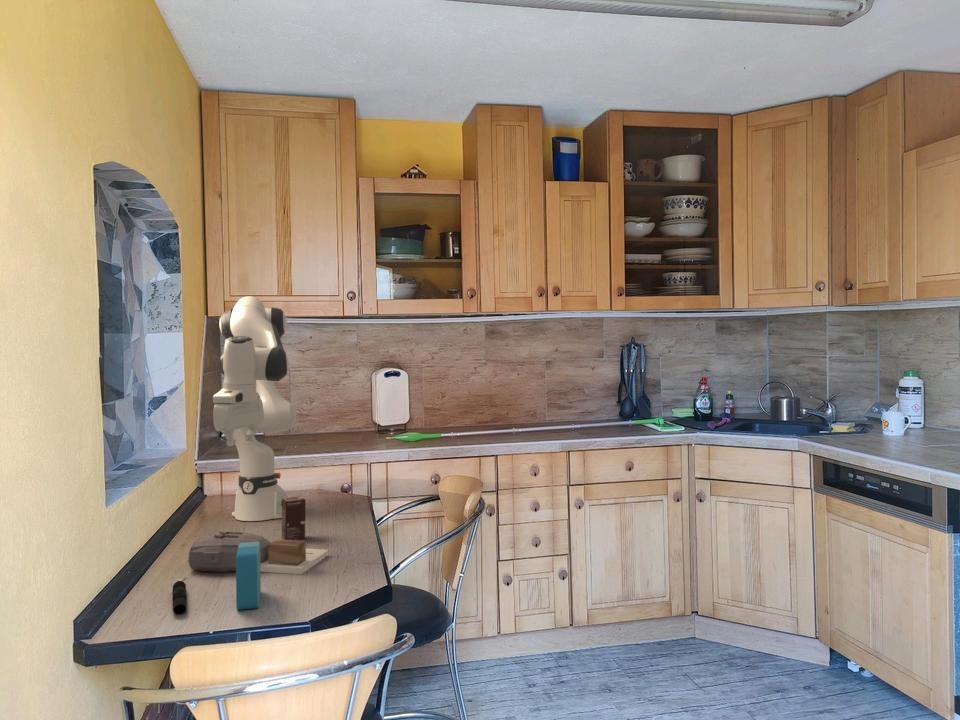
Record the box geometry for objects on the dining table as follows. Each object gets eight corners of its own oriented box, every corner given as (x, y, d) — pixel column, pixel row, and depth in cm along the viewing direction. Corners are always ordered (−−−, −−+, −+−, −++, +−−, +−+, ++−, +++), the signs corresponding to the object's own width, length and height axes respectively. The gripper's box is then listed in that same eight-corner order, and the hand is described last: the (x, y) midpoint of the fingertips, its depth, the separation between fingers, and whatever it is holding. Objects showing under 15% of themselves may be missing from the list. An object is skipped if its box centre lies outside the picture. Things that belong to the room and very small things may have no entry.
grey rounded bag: (182, 574, 168) (262, 574, 168) (181, 541, 168) (262, 540, 168) (206, 556, 183) (280, 555, 184) (205, 525, 183) (279, 525, 183)
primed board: (288, 552, 186) (287, 547, 186) (328, 555, 184) (328, 549, 184) (257, 571, 171) (257, 565, 171) (301, 574, 168) (301, 568, 168)
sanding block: (277, 558, 176) (277, 539, 176) (305, 560, 175) (305, 540, 175) (268, 563, 172) (268, 544, 172) (297, 565, 170) (297, 545, 170)
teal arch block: (240, 593, 155) (239, 541, 155) (260, 591, 157) (260, 539, 156) (236, 612, 144) (235, 556, 144) (258, 610, 145) (258, 554, 145)
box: (286, 542, 197) (285, 501, 196) (281, 539, 200) (281, 498, 200) (306, 539, 200) (306, 498, 200) (301, 535, 204) (301, 496, 203)
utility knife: (172, 585, 161) (172, 573, 161) (190, 583, 163) (190, 571, 163) (172, 618, 141) (172, 604, 141) (193, 615, 143) (192, 600, 143)
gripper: (249, 391, 201) (250, 437, 201) (208, 397, 181) (209, 448, 181) (269, 391, 200) (269, 438, 200) (230, 397, 180) (230, 449, 180)
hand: (240, 443), depth 191 cm, fingers open, 8 cm apart
